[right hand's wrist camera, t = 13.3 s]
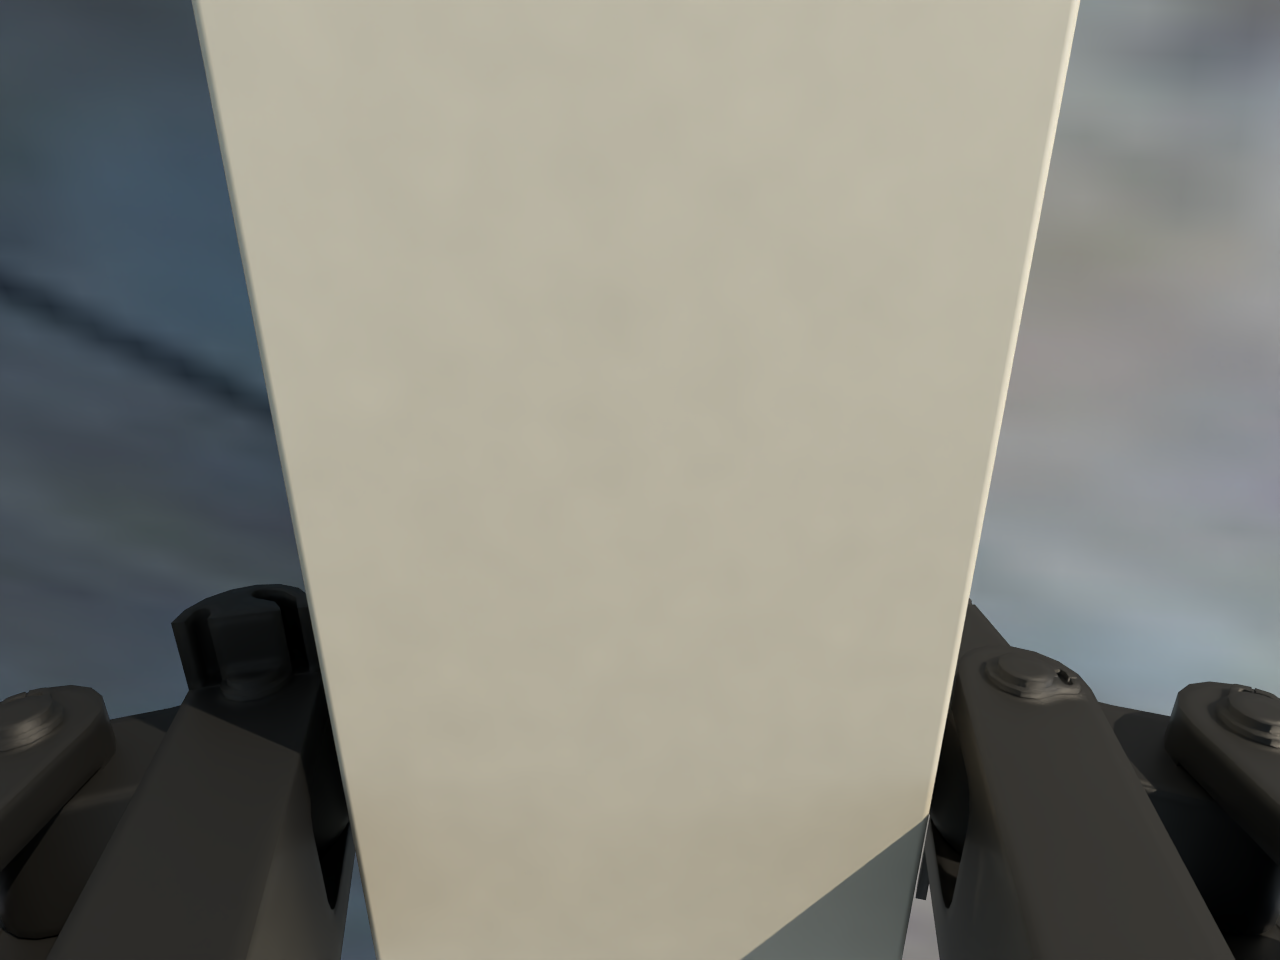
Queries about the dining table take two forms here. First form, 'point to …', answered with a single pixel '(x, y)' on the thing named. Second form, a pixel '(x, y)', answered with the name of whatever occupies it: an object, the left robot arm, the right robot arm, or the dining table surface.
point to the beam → (637, 438)
